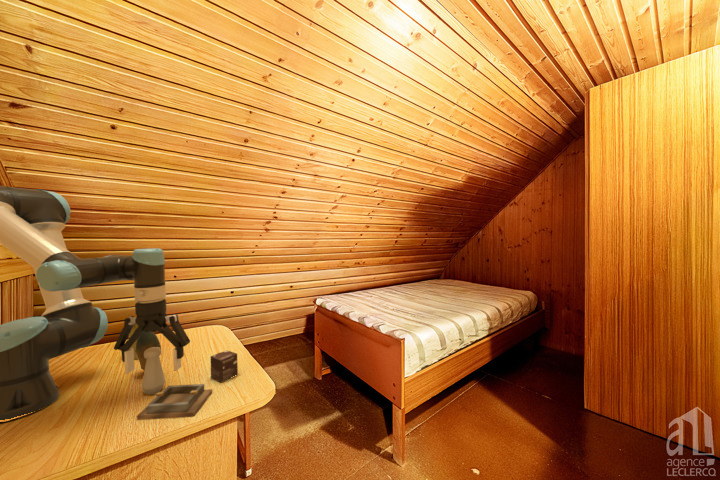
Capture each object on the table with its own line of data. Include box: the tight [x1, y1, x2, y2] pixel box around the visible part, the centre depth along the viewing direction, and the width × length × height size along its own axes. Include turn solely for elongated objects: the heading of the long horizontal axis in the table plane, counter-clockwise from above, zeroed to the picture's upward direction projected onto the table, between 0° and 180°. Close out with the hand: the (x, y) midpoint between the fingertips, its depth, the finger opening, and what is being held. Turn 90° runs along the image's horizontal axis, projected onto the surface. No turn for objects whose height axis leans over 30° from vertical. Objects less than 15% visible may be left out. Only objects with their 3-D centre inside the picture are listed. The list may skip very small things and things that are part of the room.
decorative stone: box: [135, 332, 162, 372], centre depth 97 cm, size 10×6×15 cm, turn 65°
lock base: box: [136, 383, 213, 420], centre depth 80 cm, size 14×11×4 cm
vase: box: [128, 322, 139, 361], centre depth 111 cm, size 6×6×14 cm
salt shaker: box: [141, 347, 166, 396], centre depth 87 cm, size 6×6×13 cm
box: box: [210, 350, 239, 383], centre depth 95 cm, size 6×6×7 cm
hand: (154, 370), depth 87 cm, fingers open, 13 cm apart
